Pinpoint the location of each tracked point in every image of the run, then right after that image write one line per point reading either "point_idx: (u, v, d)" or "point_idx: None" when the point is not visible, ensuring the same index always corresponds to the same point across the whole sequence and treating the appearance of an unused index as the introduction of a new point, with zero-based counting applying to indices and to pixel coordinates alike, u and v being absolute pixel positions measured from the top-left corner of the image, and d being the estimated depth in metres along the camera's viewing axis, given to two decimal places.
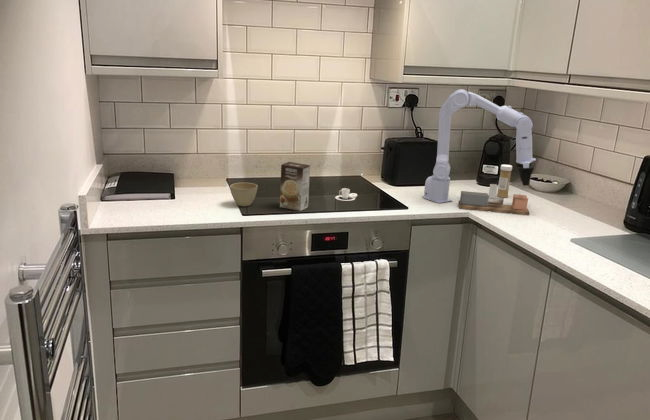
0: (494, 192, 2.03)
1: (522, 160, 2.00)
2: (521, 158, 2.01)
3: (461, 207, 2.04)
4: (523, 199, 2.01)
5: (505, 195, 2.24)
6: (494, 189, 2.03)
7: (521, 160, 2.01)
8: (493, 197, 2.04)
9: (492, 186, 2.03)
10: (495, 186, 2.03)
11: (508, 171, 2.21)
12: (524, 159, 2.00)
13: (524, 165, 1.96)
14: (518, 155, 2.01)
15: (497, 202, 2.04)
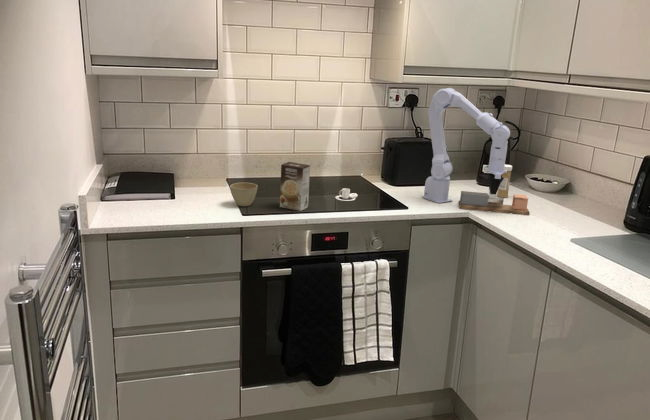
0: None
1: (494, 170, 2.00)
2: (493, 168, 2.00)
3: (461, 207, 2.04)
4: (523, 199, 2.01)
5: (505, 195, 2.24)
6: None
7: (493, 170, 2.00)
8: (493, 197, 2.04)
9: None
10: None
11: (508, 171, 2.21)
12: (496, 169, 1.99)
13: (496, 176, 1.96)
14: (491, 164, 2.00)
15: (497, 202, 2.04)
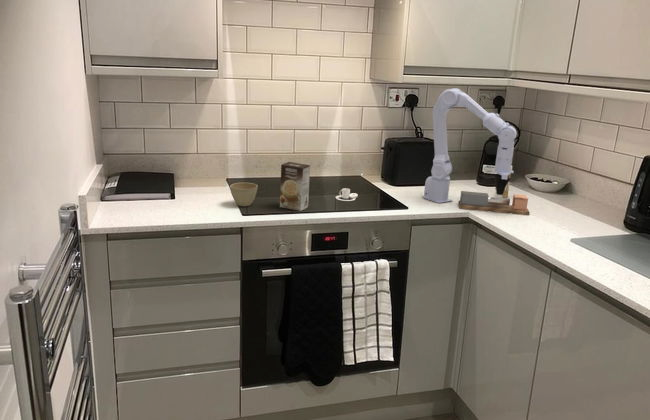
0: None
1: (501, 171, 1.99)
2: (500, 168, 1.99)
3: (461, 207, 2.04)
4: (523, 199, 2.01)
5: (505, 195, 2.24)
6: None
7: (500, 170, 1.99)
8: (499, 198, 2.04)
9: None
10: None
11: None
12: (503, 170, 1.99)
13: (503, 176, 1.95)
14: (498, 165, 2.00)
15: (503, 203, 2.04)
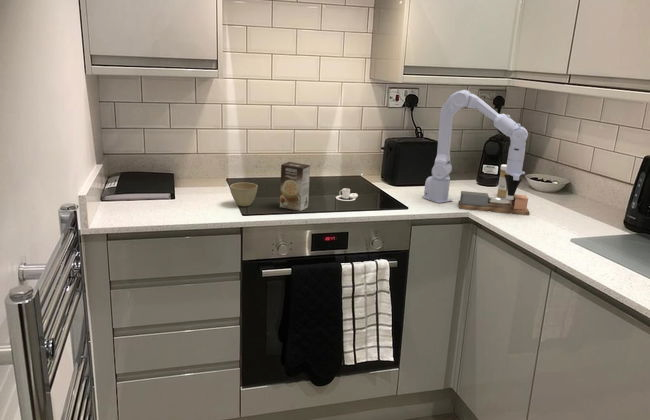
0: None
1: (512, 172, 1.98)
2: (511, 169, 1.99)
3: (461, 207, 2.04)
4: (523, 199, 2.01)
5: (505, 195, 2.24)
6: None
7: (511, 171, 1.99)
8: (511, 199, 2.03)
9: None
10: None
11: None
12: (514, 171, 1.98)
13: (514, 177, 1.94)
14: (509, 166, 1.99)
15: None
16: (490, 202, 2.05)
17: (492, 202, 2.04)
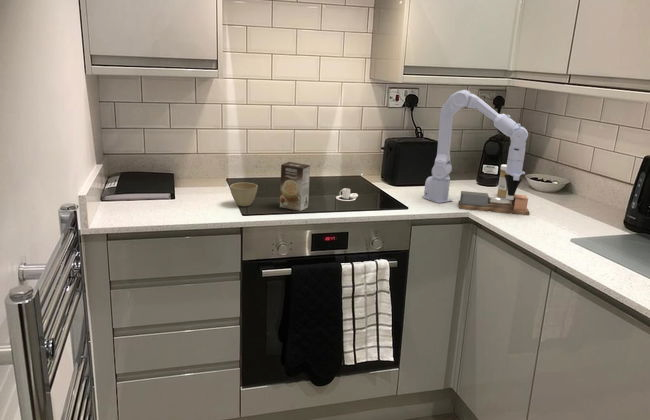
0: None
1: (512, 172, 1.98)
2: (511, 169, 1.99)
3: (461, 207, 2.04)
4: (523, 199, 2.01)
5: (505, 195, 2.24)
6: None
7: (511, 171, 1.99)
8: (511, 199, 2.03)
9: None
10: None
11: None
12: (514, 171, 1.98)
13: (514, 177, 1.94)
14: (509, 166, 1.99)
15: None
16: (490, 202, 2.05)
17: (492, 202, 2.04)
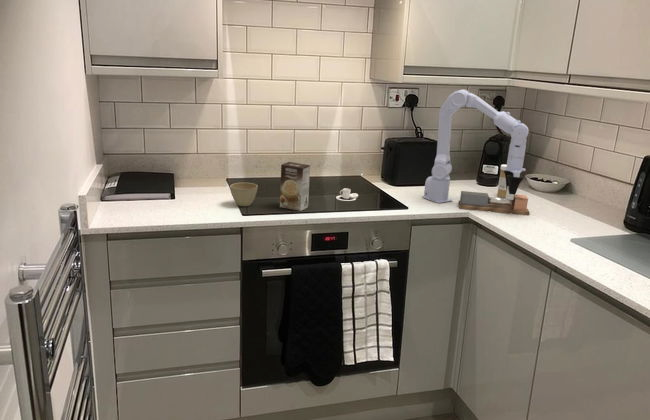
0: (512, 194, 2.02)
1: (512, 168, 1.98)
2: (512, 166, 1.98)
3: (461, 207, 2.04)
4: (523, 199, 2.01)
5: (505, 195, 2.24)
6: None
7: (511, 168, 1.98)
8: (511, 199, 2.03)
9: None
10: None
11: None
12: (515, 168, 1.98)
13: (515, 174, 1.94)
14: (509, 162, 1.99)
15: None
16: (490, 202, 2.05)
17: (492, 202, 2.04)
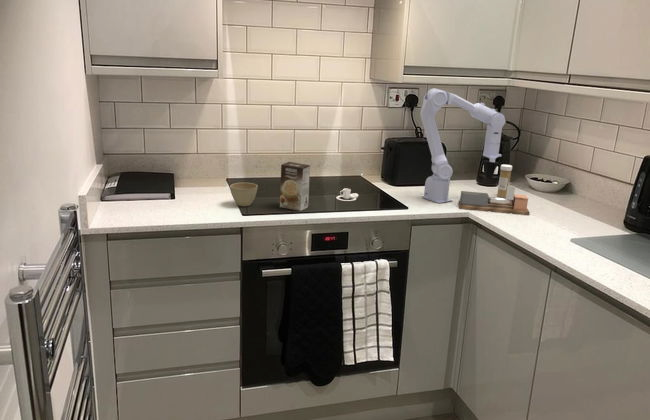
0: (512, 194, 2.02)
1: (489, 154, 2.09)
2: (488, 152, 2.09)
3: (461, 207, 2.04)
4: (523, 199, 2.01)
5: (505, 195, 2.24)
6: (512, 190, 2.02)
7: (488, 154, 2.09)
8: (511, 199, 2.03)
9: (510, 188, 2.02)
10: (513, 188, 2.02)
11: (508, 171, 2.21)
12: (491, 153, 2.08)
13: (491, 159, 2.05)
14: (486, 148, 2.09)
15: None
16: (490, 202, 2.05)
17: (492, 202, 2.04)
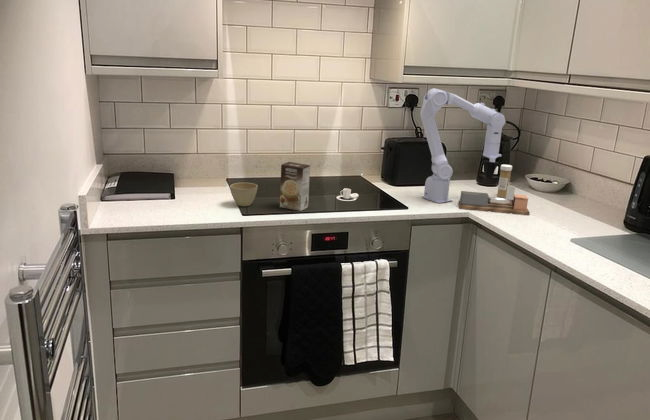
0: (512, 194, 2.02)
1: (489, 154, 2.09)
2: (488, 152, 2.09)
3: (461, 207, 2.04)
4: (523, 199, 2.01)
5: (505, 195, 2.24)
6: (512, 190, 2.02)
7: (488, 154, 2.09)
8: (511, 199, 2.03)
9: (510, 188, 2.02)
10: (513, 188, 2.02)
11: (508, 171, 2.21)
12: (491, 153, 2.08)
13: (491, 159, 2.05)
14: (486, 148, 2.09)
15: None
16: (490, 202, 2.05)
17: (492, 202, 2.04)
